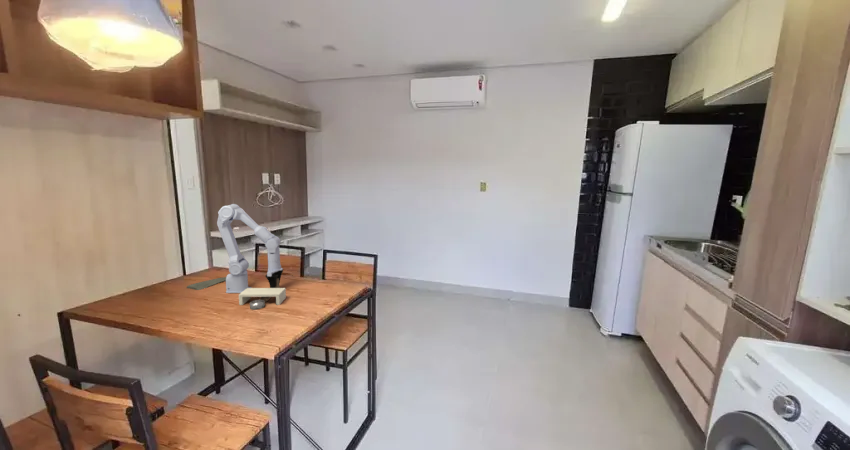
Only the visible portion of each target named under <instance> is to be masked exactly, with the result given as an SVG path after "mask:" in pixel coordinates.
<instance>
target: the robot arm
mask: <svg viewBox="0 0 850 450" xmlns="http://www.w3.org/2000/svg"><path fill="white" fill-rule="evenodd" d="M217 214H218V217H217V221H216V225H217V228H218V231H219V234H220V236H221V239H222V241H223V244H224V247H225V250H226V252H227V254H228V262H227V263H228V272H229V273H228V274H227V275H226V276H225V277H226V280H225V288H226V291H225V293H226V294H240V293H241V292H243V291H244V290H245V289H247V288H253V287H252V286H249V278H248V277H249V276H248V269H249V266H250V264H249V261H248V260H247V259H246V258H245V255H244V254H242V253H241V251H240V248H239V245H238V242H237V240H236V236H235V234H234V232H233V228H232V226H231V224H232V223H233V221H235V220H236V221H238V220H239V221H241V222H242V223H243V224H245V225H247V227H249V228H250V229H251V230H253V231H254V232H253V233H254V235H255V236H256V237H257V238H258V239H259V240H260V241H261V242H262V243H264V246H265V248H266V249H267V272H266V274H265V278H266V280H267V281H268V283H269V288H270V287H271V288H275V287H276V280H277V278H279V284H280V282H281V278H282V275H283V272H284V270H283V269H284V268H283V267H282V264H281V254H280V253H281V251H280V245H281V239H280V237H279V236H276V235H275V234H274V233H272V232H270V231H269V230H268V227H266V226H264V225H259V224H258V223H257V222H256V221H255V220H254V219H253V218H252V217H251V216H250V215H249V214H248V213H247V212H245V210H244V209H243V208H242V207H240V206H239V205H238V204H236V203H231V204H229V205H223V206H222V207H221V208H220V209H219V210H218V211H217Z"/></svg>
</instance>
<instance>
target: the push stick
mask: <svg viewBox="0 0 850 450" xmlns="http://www.w3.org/2000/svg"><path fill="white" fill-rule="evenodd" d="M269 288H271V287H270V286H269ZM275 288H280V283H279V278H277V280H276V287H275ZM271 298H272V297H259V300H264V302H265V303H266V302H268V301H269V300H270V299H271Z"/></svg>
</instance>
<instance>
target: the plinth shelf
mask: <svg viewBox="0 0 850 450" xmlns="http://www.w3.org/2000/svg"><path fill="white" fill-rule="evenodd" d="M286 290H287V289H286V287H279V288H270V287H252V288H247V289H245V290H244V291H243V292H241V293H238V305H239V306H243V305H244V304H246V303H247V302H248V301H249V300H251V299H252V297H253V298H255V297H256V298H257V297H259V298H261V297H271V298H273V297H275V305H276V306H280V305H281V304H282V303H283V301H284V300H286V298H287V294H286V292H287V291H286Z"/></svg>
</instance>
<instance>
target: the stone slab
mask: <svg viewBox="0 0 850 450" xmlns="http://www.w3.org/2000/svg"><path fill="white" fill-rule="evenodd" d="M226 277H227V276H223V277H217V278H213V279H209V280H208V279H207V280H204V281H199V282H195V283H193V284H189V285H187V286H186V289H190V290H194V291H200V290H204V288H205V289H206V288H209V287H212V286H215V285H217V284H219V283H222V282H226Z"/></svg>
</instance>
